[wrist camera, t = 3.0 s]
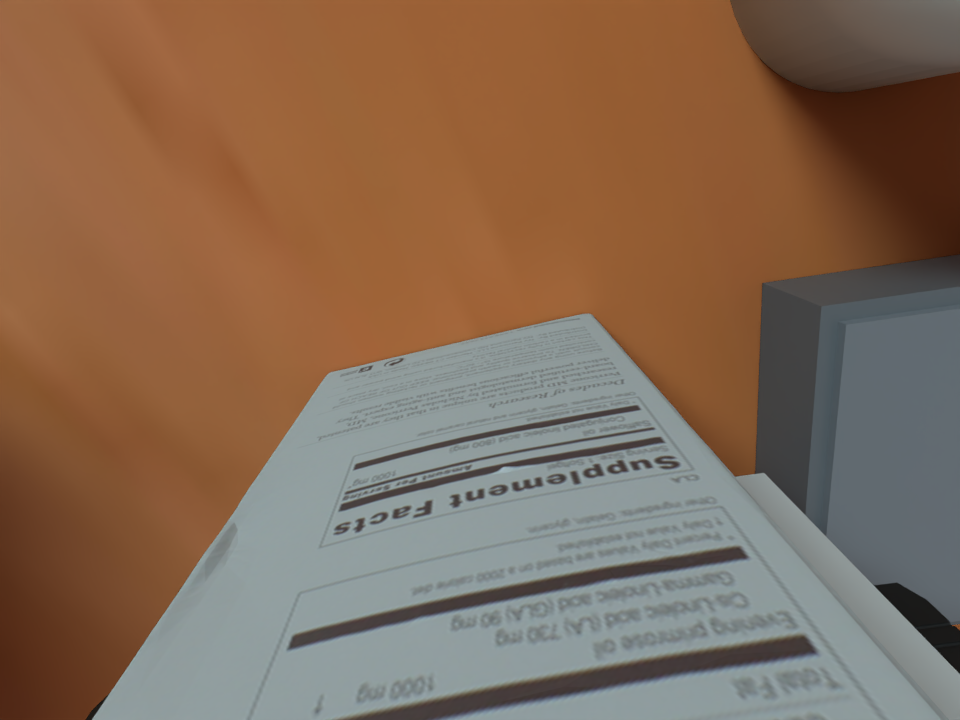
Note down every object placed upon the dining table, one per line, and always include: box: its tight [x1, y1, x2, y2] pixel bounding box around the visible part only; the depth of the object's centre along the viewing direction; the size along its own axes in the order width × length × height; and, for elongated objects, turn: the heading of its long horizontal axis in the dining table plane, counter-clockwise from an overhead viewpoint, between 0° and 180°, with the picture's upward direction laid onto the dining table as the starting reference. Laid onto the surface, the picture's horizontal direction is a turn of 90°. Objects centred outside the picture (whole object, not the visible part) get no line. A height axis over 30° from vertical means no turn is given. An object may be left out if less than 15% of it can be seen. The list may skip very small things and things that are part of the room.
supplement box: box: [92, 314, 949, 720], centre depth 11 cm, size 10×9×17 cm
